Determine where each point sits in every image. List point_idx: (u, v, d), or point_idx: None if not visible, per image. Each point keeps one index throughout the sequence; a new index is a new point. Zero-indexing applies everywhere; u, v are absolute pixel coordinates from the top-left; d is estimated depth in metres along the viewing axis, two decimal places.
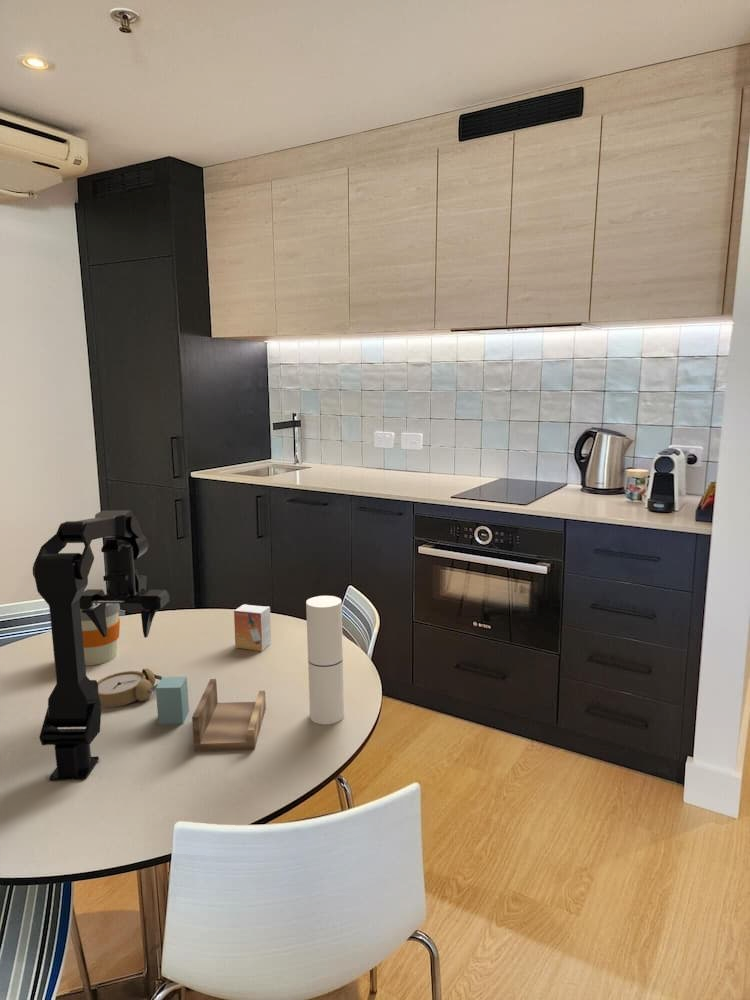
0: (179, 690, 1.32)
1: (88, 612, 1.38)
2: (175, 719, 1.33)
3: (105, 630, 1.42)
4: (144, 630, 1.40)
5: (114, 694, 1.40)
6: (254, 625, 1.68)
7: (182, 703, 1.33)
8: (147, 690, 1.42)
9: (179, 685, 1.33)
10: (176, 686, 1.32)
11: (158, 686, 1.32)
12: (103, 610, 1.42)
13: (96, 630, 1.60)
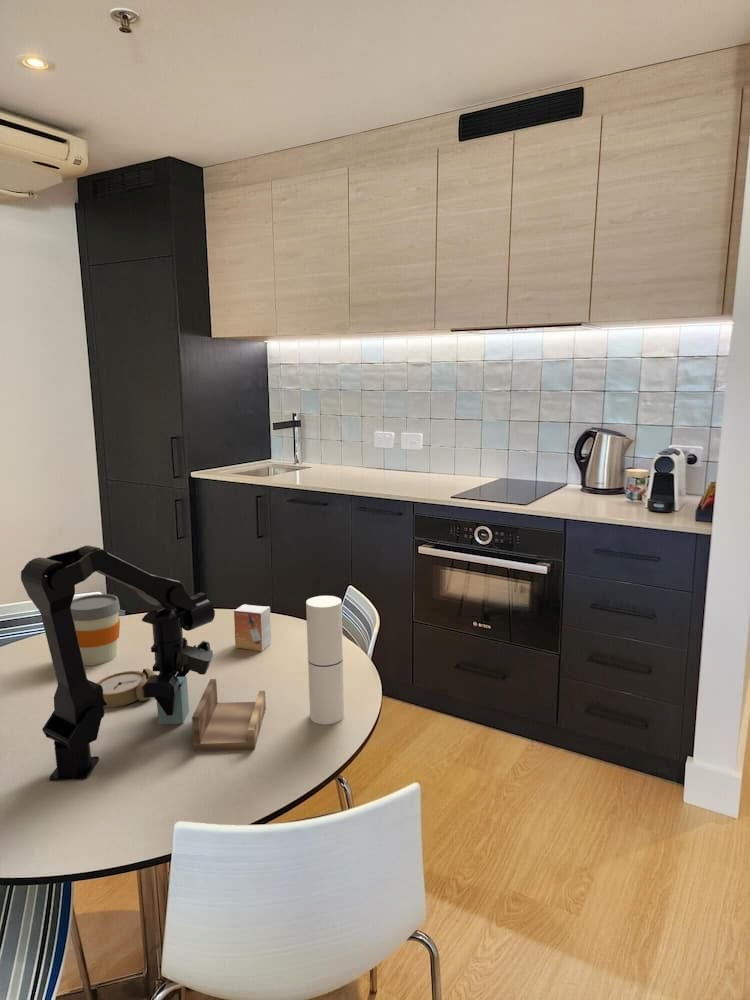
0: (179, 690, 1.32)
1: None
2: (175, 719, 1.33)
3: None
4: None
5: (115, 694, 1.40)
6: (254, 625, 1.68)
7: (182, 703, 1.33)
8: None
9: None
10: None
11: None
12: (180, 676, 1.37)
13: (96, 630, 1.60)
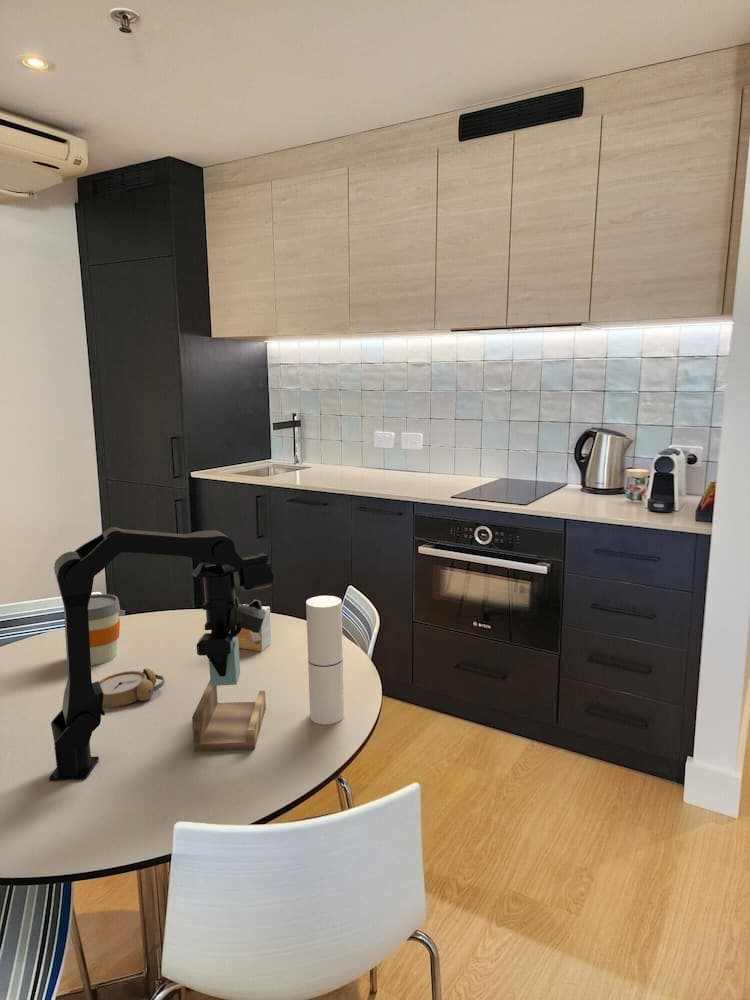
0: None
1: None
2: (228, 680, 1.27)
3: None
4: None
5: (115, 694, 1.40)
6: None
7: (235, 663, 1.27)
8: (148, 690, 1.43)
9: None
10: None
11: None
12: None
13: (96, 630, 1.60)
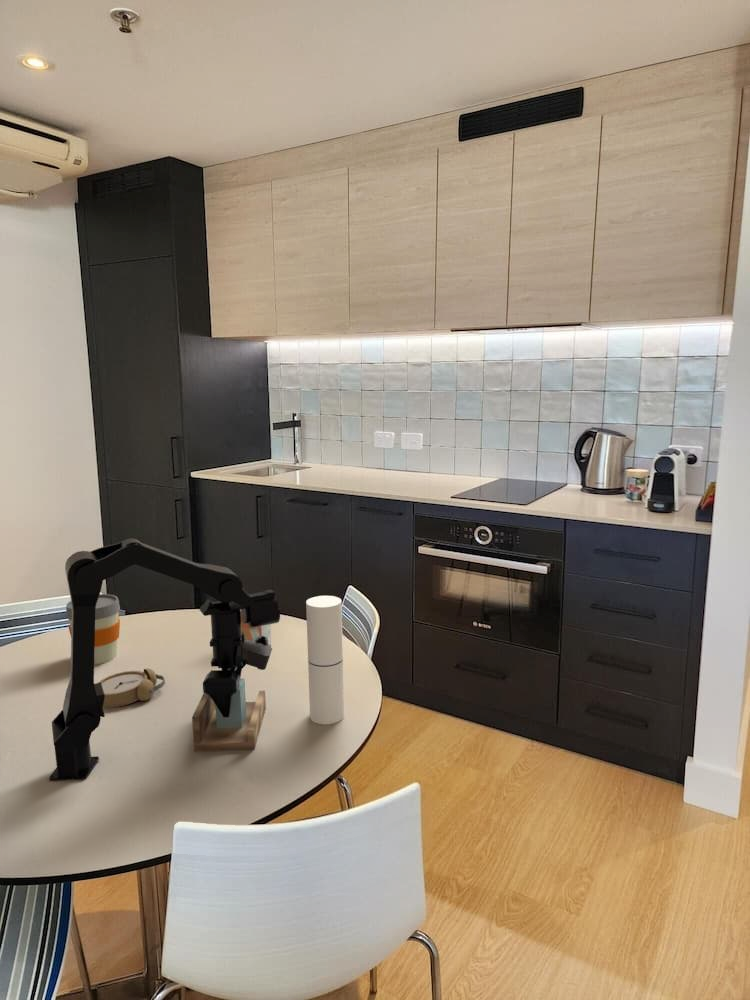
0: (238, 693, 1.27)
1: None
2: (234, 723, 1.28)
3: None
4: None
5: (116, 694, 1.40)
6: None
7: (241, 706, 1.28)
8: (149, 690, 1.43)
9: (239, 688, 1.28)
10: None
11: None
12: (238, 668, 1.34)
13: (96, 630, 1.60)
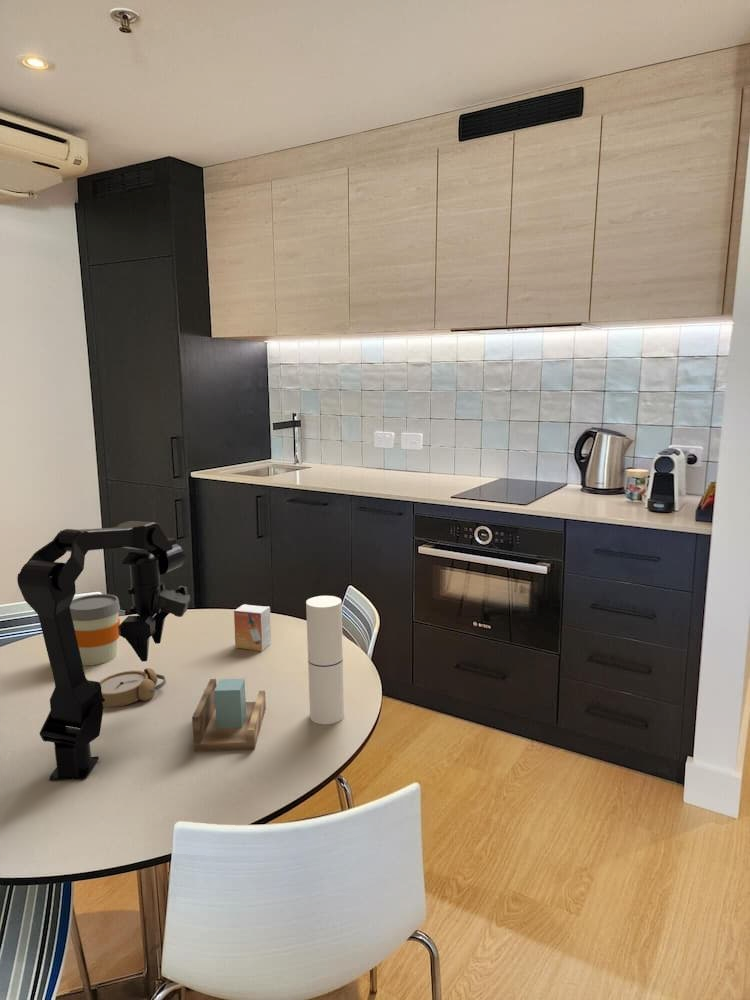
0: (238, 693, 1.27)
1: None
2: (234, 723, 1.28)
3: (156, 636, 1.41)
4: None
5: (117, 694, 1.40)
6: (254, 625, 1.68)
7: (241, 706, 1.28)
8: (150, 690, 1.43)
9: (239, 688, 1.28)
10: (235, 689, 1.27)
11: (216, 688, 1.28)
12: (160, 617, 1.41)
13: (96, 630, 1.60)
